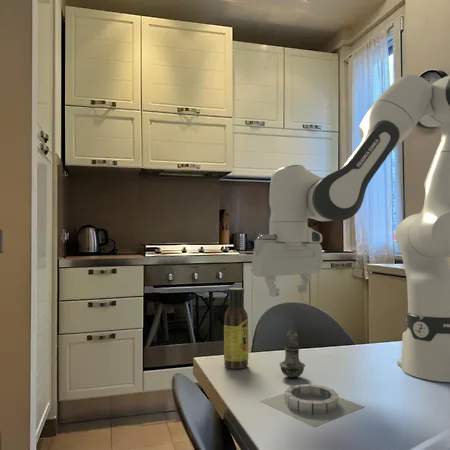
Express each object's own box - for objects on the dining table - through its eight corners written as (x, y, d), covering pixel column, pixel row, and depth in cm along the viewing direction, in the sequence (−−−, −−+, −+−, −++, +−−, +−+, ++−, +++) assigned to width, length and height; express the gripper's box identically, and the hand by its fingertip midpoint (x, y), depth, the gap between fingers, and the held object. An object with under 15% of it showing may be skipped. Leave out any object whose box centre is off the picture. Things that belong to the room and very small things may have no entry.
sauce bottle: (247, 370, 101) (247, 290, 102) (222, 370, 101) (222, 289, 102) (249, 363, 107) (248, 287, 108) (225, 362, 108) (224, 287, 109)
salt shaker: (305, 385, 90) (304, 331, 91) (278, 383, 91) (278, 330, 92) (305, 376, 96) (304, 325, 97) (280, 375, 97) (279, 324, 98)
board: (309, 388, 88) (309, 385, 88) (364, 409, 77) (364, 406, 77) (260, 404, 80) (260, 400, 80) (314, 430, 69) (314, 426, 69)
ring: (309, 390, 85) (309, 381, 86) (348, 405, 77) (348, 395, 78) (274, 401, 80) (274, 391, 80) (313, 419, 72) (313, 408, 72)
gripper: (265, 234, 86) (265, 299, 86) (327, 235, 99) (327, 292, 98) (245, 234, 91) (245, 296, 91) (307, 235, 104) (307, 290, 103)
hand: (288, 294), depth 94 cm, fingers open, 8 cm apart
